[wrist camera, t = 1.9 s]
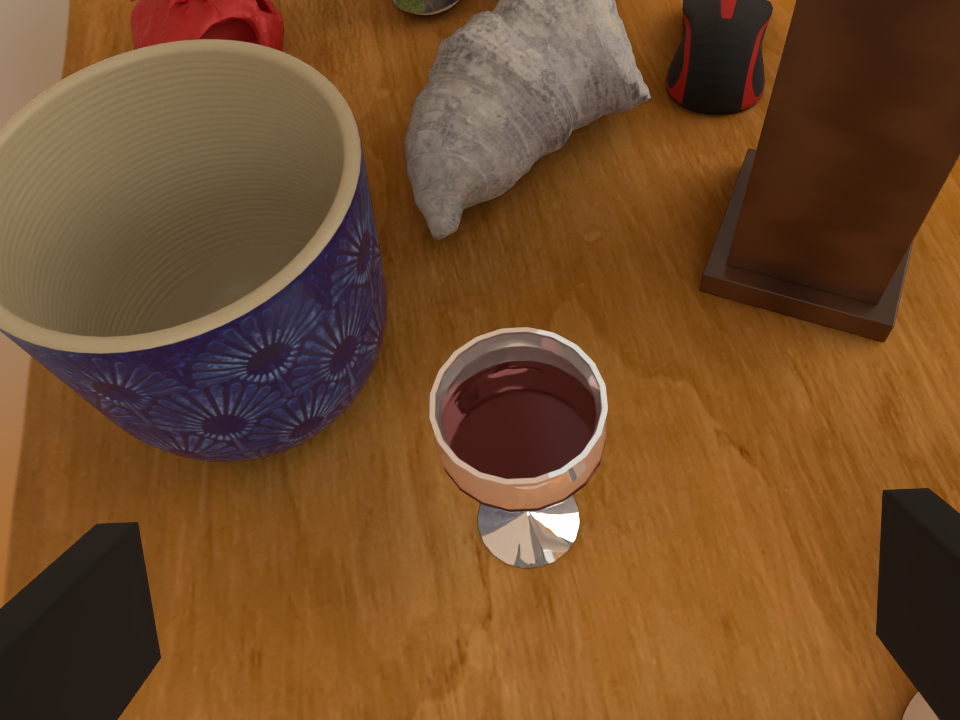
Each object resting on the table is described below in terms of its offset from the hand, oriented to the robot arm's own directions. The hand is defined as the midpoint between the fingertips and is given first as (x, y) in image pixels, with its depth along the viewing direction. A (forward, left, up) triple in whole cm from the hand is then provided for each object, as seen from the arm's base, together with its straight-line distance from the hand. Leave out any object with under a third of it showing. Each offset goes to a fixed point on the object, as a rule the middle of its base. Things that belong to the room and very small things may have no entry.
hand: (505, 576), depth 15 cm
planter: (+21, -13, -25) cm, 35 cm away
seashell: (+13, -33, -25) cm, 44 cm away
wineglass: (+4, -10, -25) cm, 28 cm away
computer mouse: (+4, -45, -25) cm, 52 cm away
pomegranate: (+36, -33, -25) cm, 55 cm away
